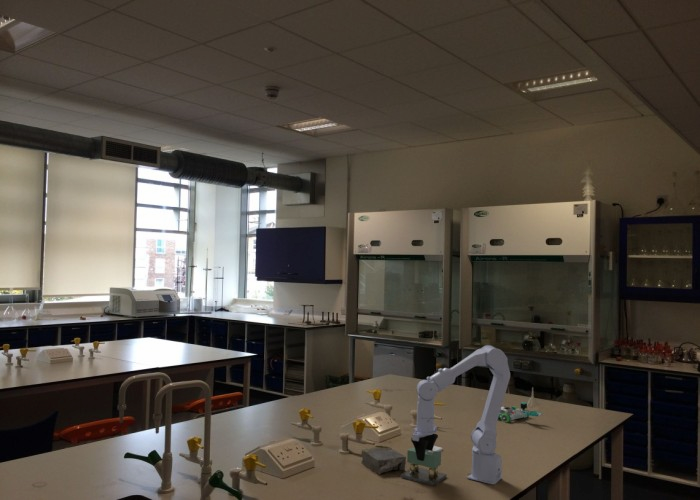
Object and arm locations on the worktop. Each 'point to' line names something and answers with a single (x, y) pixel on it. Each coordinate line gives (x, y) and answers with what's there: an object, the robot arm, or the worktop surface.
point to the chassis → (423, 475)
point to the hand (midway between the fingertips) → (424, 457)
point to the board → (425, 458)
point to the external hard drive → (436, 449)
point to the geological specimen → (383, 459)
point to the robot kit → (516, 413)
